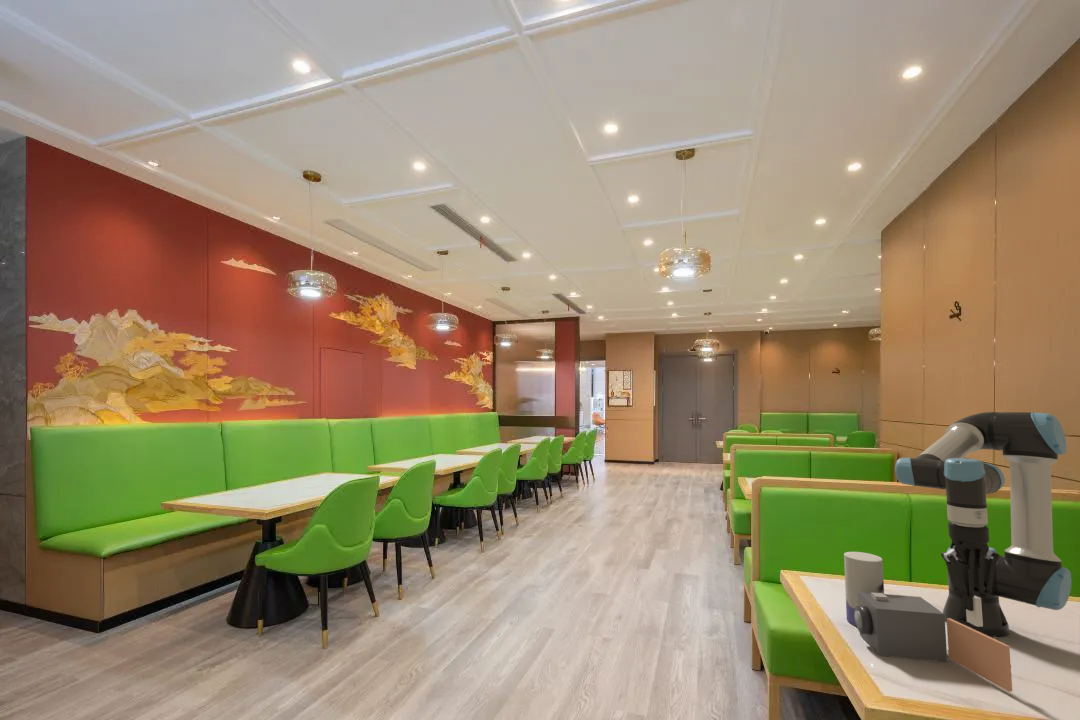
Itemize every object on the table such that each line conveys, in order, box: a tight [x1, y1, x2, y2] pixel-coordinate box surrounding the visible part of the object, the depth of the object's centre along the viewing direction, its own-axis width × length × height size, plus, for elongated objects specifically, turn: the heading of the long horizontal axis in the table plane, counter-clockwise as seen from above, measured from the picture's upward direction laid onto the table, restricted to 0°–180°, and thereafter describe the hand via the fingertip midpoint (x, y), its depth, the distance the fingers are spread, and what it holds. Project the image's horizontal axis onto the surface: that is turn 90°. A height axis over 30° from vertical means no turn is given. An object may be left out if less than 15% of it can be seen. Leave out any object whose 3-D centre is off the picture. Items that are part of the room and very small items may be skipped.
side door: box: [946, 618, 1013, 692], centre depth 124 cm, size 15×2×10 cm, turn 6°
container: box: [843, 551, 885, 627], centre depth 154 cm, size 10×10×20 cm
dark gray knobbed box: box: [855, 592, 948, 663], centre depth 139 cm, size 18×12×13 cm, turn 78°
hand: (974, 623), depth 121 cm, fingers closed
